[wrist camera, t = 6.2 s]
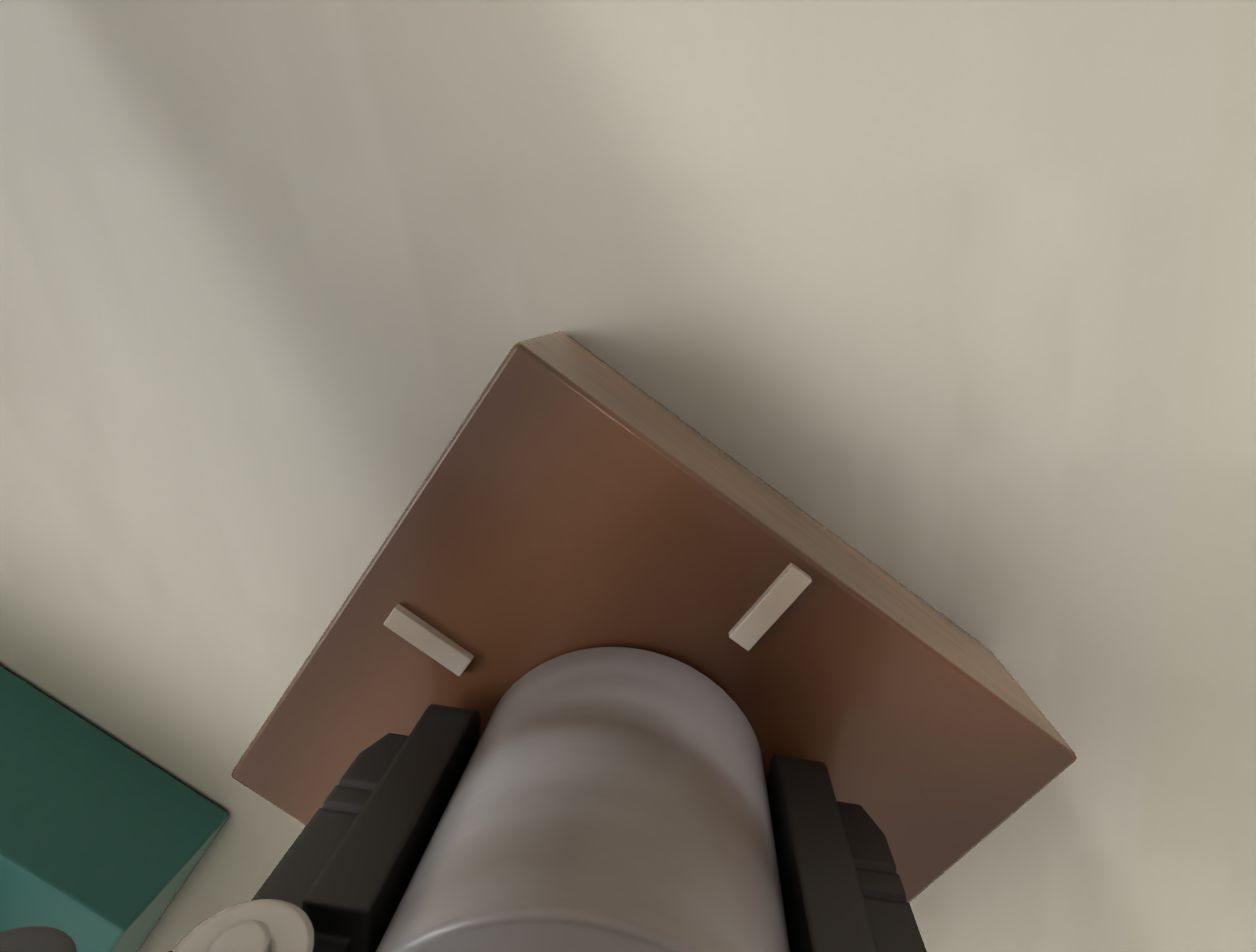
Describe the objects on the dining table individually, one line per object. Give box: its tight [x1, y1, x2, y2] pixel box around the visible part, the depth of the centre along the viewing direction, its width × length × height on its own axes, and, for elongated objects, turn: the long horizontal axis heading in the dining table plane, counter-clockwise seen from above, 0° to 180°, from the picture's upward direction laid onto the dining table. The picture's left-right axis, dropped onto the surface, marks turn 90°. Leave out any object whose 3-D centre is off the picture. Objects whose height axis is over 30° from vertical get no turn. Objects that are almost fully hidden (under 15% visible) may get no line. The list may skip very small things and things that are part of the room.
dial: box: [376, 647, 790, 952], centre depth 8 cm, size 4×4×5 cm
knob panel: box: [232, 331, 1077, 903], centre depth 12 cm, size 10×9×3 cm
